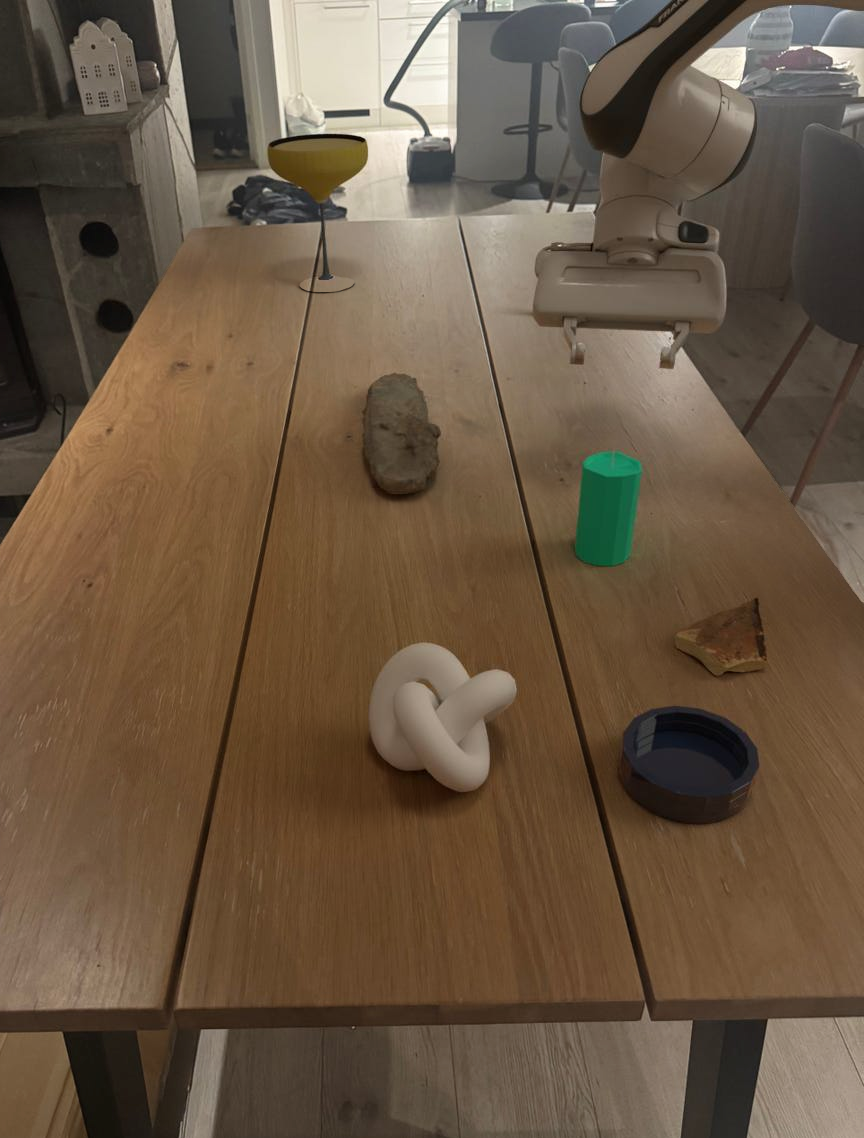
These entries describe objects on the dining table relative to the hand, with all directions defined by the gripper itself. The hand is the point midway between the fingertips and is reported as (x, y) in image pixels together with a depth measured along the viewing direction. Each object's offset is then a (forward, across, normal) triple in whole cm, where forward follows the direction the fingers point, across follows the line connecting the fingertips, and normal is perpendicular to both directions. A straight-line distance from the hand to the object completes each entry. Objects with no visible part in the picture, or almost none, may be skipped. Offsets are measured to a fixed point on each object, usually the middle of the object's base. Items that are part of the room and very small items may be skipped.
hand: (621, 364), depth 103 cm
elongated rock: (+2, -28, +22) cm, 35 cm away
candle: (+20, 0, +4) cm, 20 cm away
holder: (+43, +8, -20) cm, 48 cm away
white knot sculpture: (+44, -11, -20) cm, 50 cm away
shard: (+30, +11, -6) cm, 33 cm away
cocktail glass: (-45, -56, +69) cm, 100 cm away
